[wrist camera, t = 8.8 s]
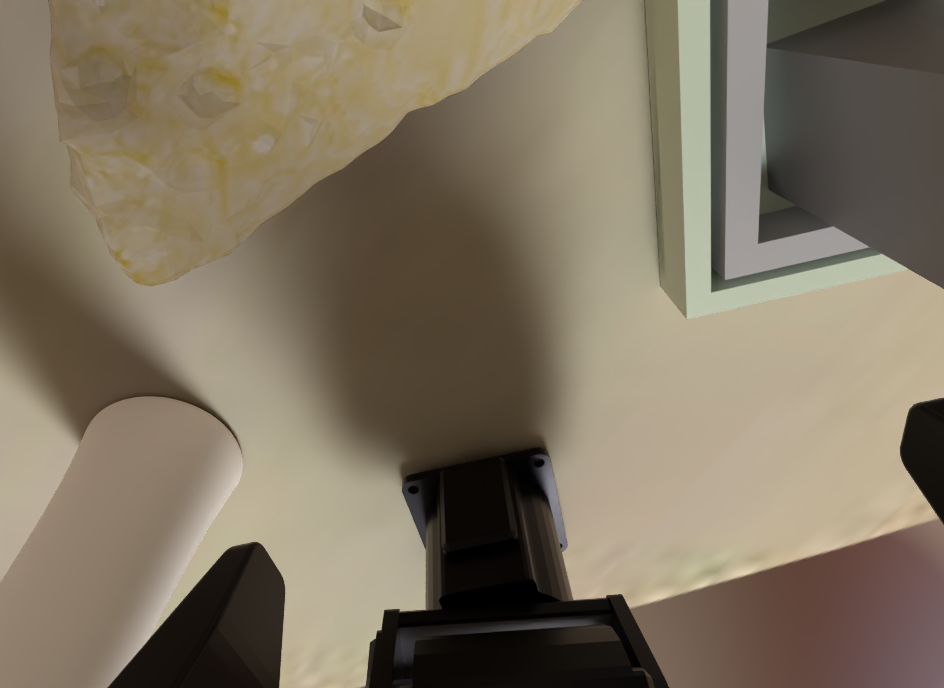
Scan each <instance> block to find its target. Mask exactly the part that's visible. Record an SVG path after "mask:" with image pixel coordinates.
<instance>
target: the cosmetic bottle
mask: <svg viewBox="0 0 944 688" xmlns="http://www.w3.org/2000/svg"><path fill="white" fill-rule="evenodd" d="M242 470H243V458H242V453H241V450H240V447H239V445H238V443H237V441H236V439H235V438H234V436H233V435H232V433H231V432H230V431H229V430H228V429H227V428H226V426H225V425H224V424H222V423H221V422H220V421H219V420H218V419H217V418H215V417H214V416H212V415H211V414H209V413H208V412H206V411H204V410H202V409H201V408H198V407H196V406H194V405H192V404H189V403H186V402H183V401H179V400H176V399H171V398H165V397H155V396H142V397H133V398H129V399H124V400H121V401H118V402H115V403H113V404H111V405H109V406H107V407H106V408H104V409H103V410H101V411H100V412H99V413H98V414H97V415H96V416H95V417H94V418H93V419H92V421H91V422H90V423H89V425H88V427H87V429H86V431H85V434H84V436H83V438H82V441H81V443H80V445H79V447H78V450H77V452H76V454H75V456H74V458H73V460H72V462H71V464H70V466H69V468H68V470H67V472H66V474H65V475H64V477H63V479H62V481H61V483H60V485H59V487H58V489H57V490H56V492H55V494H54V496H53V497H52V499H51V501H50V503H49V504H48V506H47V508H46V510H45V511H44V513H43V515H42V516H41V518H40V520H39V521H38V523H37V525H36V526H35V528H34V530H33V531H32V533H31V535H30V536H29V538H28V540H27V541H26V543H25V545H24V546H23V548H22V549H21V551H20V553H19V554H18V556H17V557H16V559H15V560H14V562H13V564H12V565H11V567H10V568H9V570H8V572H7V573H6V575H5V576H4V578H3V579H2V581H1V583H0V688H107V687H108V686H109V685H110V684H111V683H112V681H113V680H114V679H115V678H116V677H117V676H118V675H119V673H120V672H121V671H122V670H123V669H124V668H125V666H126V665H127V664H128V663H129V662H130V661H131V660H132V658H133V657H134V656H135V655H136V654H137V653H138V651H139V650H140V649H141V648H142V647H143V646H144V645H145V643H146V642H147V641H148V640H149V638H150V636H151V634H152V632H153V630H154V628H155V626H156V624H157V622H158V620H159V618H160V616H161V614H162V612H163V610H164V608H165V606H166V604H167V602H168V600H169V598H170V596H171V594H172V593H173V591H174V589H175V587H176V585H177V583H178V581H179V580H180V578H181V576H182V574H183V572H184V570H185V568H186V567H187V565H188V563H189V561H190V559H191V558H192V556H193V554H194V552H195V551H196V549H197V547H198V545H199V544H200V542H201V540H202V538H203V537H204V535H205V533H206V532H207V530H208V528H209V527H210V525H211V523H212V522H213V520H214V519H215V517H216V515H217V514H218V512H219V511H220V509H221V508H222V506H223V505H224V503H225V502H226V500H227V499H228V497H229V496H230V494H231V493H232V492H233V490H234V489H235V487H236V486H237V484H238V482H239V480H240V478H241V474H242Z"/></svg>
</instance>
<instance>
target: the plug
mask: <svg viewBox="0 0 944 688" xmlns="http://www.w3.org/2000/svg"><path fill="white" fill-rule="evenodd" d="M764 128H765V144H766V160H767V177H768V190H770V191H772V192H773V193H775V194H777V195H779V196H780V197H782V198H784V199H786V200H788V201H789V202H791V203H793V204H795V205H796V206H798V207H800V208H802V209H803V210H805V211H807V212H809V213H811V214H812V215H814V216H816V217H818V218H819V219H821V220H823V221H825V222H826V223H828V224H830V225H832V226H834V227H835V228H837V229H839V230H841V231H842V232H844V233H846V234H848V235H849V236H851V237H853V238H855V239H857V240H858V241H860V242H862V243H864V244H865V245H867V246H869V247H871V248H872V249H874V250H876V251H878V252H879V253H881V254H883V255H885V256H887V257H888V258H890V259H892V260H894V261H895V262H897V263H899V264H901V265H902V266H904V267H906V268H908V269H910V270H911V271H913V272H915V273H917V274H918V275H920V276H922V277H924V278H925V279H927V280H929V281H931V282H933V283H934V284H936V285H938V286H940V287H941V288H943V289H944V0H886V1H883V2H880V3H878V4H875V5H872V6H870V7H867V8H864V9H861V10H859V11H856V12H853V13H850V14H848V15H845V16H842V17H839V18H837V19H834V20H831V21H829V22H826V23H823V24H820V25H818V26H815V27H812V28H809V29H807V30H804V31H801V32H798V33H796V34H793V35H790V36H788V37H785V38H782V39H779V40H777V41H774V42H771V43H768V44H766V67H765V91H764Z"/></svg>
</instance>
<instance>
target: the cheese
mask: <svg viewBox="0 0 944 688" xmlns="http://www.w3.org/2000/svg"><path fill="white" fill-rule="evenodd" d="M581 1H582V0H48V2H49V7H50V12H51V33H52V36H51V47H50V61H51V70H52V79H53V88H54V97H55V105H56V111H57V114H58V125H59V140H60V142H62V143H65V144H66V145H67V148H68V151H69V155H70V159H71V185H70V188H71V189H72V190H73V191H74V193H75V194H76V195H77V196H78V197H79V198H80V200H81V201H82V202H83V203H84V204H85V206H86V207H87V208H88V209H89V210H90V212H91V213H92V214H93V215H94V216H95V217H96V220H97V223H98V226H99V229H100V231H101V233H102V235H103V237H104V239H105V241H106V243H107V245H108V248H109V250H110V252H111V254H112V256H113V258H114V259H115V261H116V262H117V264H118V265H119V266H120V267H121V269H122V270H123V271H124V272H125V273H126V274H127V275H128V276H129V277H130V278H131V279H132V280H133V281H134V282H136V283H138V284H141V285H146V286H155V285H159V284H162V283H166V282H169V281H173V280H176V279H178V278H179V277H181V276H182V275H184V274H185V273H187V272H188V271H190V270H191V269H193V268H196V267H199V266H202V265H204V264H207V263H209V262H211V261H214V260H216V259H219V258H221V257H223V256H226V255H228V254H230V253H231V252H232V251H233V250H234V249H235V248H236V247H238V246H239V245H240V244H241V243H242V242H243V241H244V240H245V239H247V238H248V237H249V236H250V235H251V234H252V233H253V232H254V231H255V230H256V229H257V227H258V226H259V225H260V224H261V223H262V222H264V221H266V220H267V219H269V218H271V217H272V216H274V215H276V214H277V213H279V212H280V211H282V210H284V209H285V208H286V207H288V206H289V205H290V204H291V203H293V202H294V201H295V200H296V199H298V198H299V197H300V196H301V195H303V194H304V193H305V192H306V191H307V190H308V189H309V188H310V187H312V186H313V185H314V184H315V183H317V182H318V181H320V180H322V179H324V178H325V177H327V176H329V175H331V174H333V173H335V172H337V171H339V170H341V169H343V168H344V167H345V166H347V165H348V164H349V163H350V162H352V161H353V160H354V159H355V158H357V157H358V156H359V155H360V154H362V153H363V152H365V151H367V150H368V149H370V148H371V147H373V146H375V145H376V144H378V143H379V142H381V141H382V140H383V139H384V138H386V137H387V136H388V135H389V134H390V133H391V132H392V131H393V130H394V129H395V128H396V126H397V125H398V124H399V123H400V121H401V120H402V119H403V118H404V116H405V115H406V114H407V113H408V112H410V111H413V110H416V109H419V108H423V107H427V106H431V105H434V104H436V103H438V102H440V101H441V100H443V99H444V98H446V97H447V96H450V95H452V94H455V93H458V92H460V91H463V90H465V89H467V88H468V87H469V86H470V85H471V84H472V83H473V82H475V81H476V80H477V79H478V78H479V77H480V76H482V75H483V74H485V73H486V72H488V71H489V70H490V69H492V68H493V67H495V66H497V65H498V64H500V63H502V62H503V61H505V60H506V59H508V58H510V57H511V56H513V55H514V54H515V53H516V52H518V51H519V50H520V49H521V48H522V47H524V46H525V45H526V44H527V43H529V42H530V41H531V40H532V39H534V38H535V37H536V36H537V35H540V34H546V33H551V32H552V31H553V30H554V29H555V28H556V27H557V26H558V25H559V24H560V23H561V22H562V21H563V20H564V19H565V18H566V17H567V16H568V15H569V14H570V12H571V11H572V10H573V9H574V8H575V7H576V6H577V5H578V4H579V3H580V2H581Z"/></svg>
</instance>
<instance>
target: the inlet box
mask: <svg viewBox="0 0 944 688" xmlns="http://www.w3.org/2000/svg"><path fill="white" fill-rule="evenodd" d="M883 1H886V0H645V14H646V32H647V50H648V68H649V86H650V104H651V122H652V140H653V159H654V177H655V195H656V213H657V231H658V249H659V267H660V285H661V288H662V289H663V290H664V292H665V293H666V294H667V295H668V297H669V298H670V299H671V300H672V302H673V303H674V304H675V305H676V307H677V308H678V309H679V310H680V311H681V313H682V314H683V315H684V316H685V318H686V319H691V318H696V317H700V316H704V315H709V314H713V313H718V312H722V311H727V310H731V309H736V308H740V307H745V306H749V305H753V304H758V303H762V302H767V301H771V300H776V299H780V298H785V297H789V296H794V295H798V294H802V293H807V292H811V291H816V290H820V289H825V288H829V287H834V286H838V285H842V284H847V283H851V282H856V281H860V280H865V279H869V278H874V277H878V276H883V275H887V274H891V273H896V272H900V271H905V270H909V269H908V268H906V267H904V266H902V265H901V264H899V263H897V262H895V261H894V260H892V259H890V258H888V257H887V256H885V255H883V254H881V253H879V252H878V251H876V250H874V249H872V248H871V247H869V246H867V245H865V244H864V243H862V242H860V241H858V240H857V239H855V238H853V237H851V236H849V235H848V234H846V233H844V232H842V231H841V230H839V229H837V228H835V227H834V226H832V225H830V224H828V223H826V222H825V221H823V220H821V219H819V218H818V217H816V216H814V215H812V214H811V213H809V212H807V211H805V210H803V209H802V208H800V207H798V206H796V205H795V204H793V203H791V202H789V201H788V200H786V199H784V198H782V197H780V196H779V195H777V194H775V193H773V192H772V191H770V190H768V177H767V160H766V144H765V128H764V91H765V67H766V44H768V43H771V42H774V41H777V40H779V39H782V38H785V37H788V36H790V35H793V34H796V33H798V32H801V31H804V30H807V29H809V28H812V27H815V26H818V25H820V24H823V23H826V22H829V21H831V20H834V19H837V18H839V17H842V16H845V15H848V14H850V13H853V12H856V11H859V10H861V9H864V8H867V7H870V6H872V5H875V4H878V3H880V2H883Z"/></svg>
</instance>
